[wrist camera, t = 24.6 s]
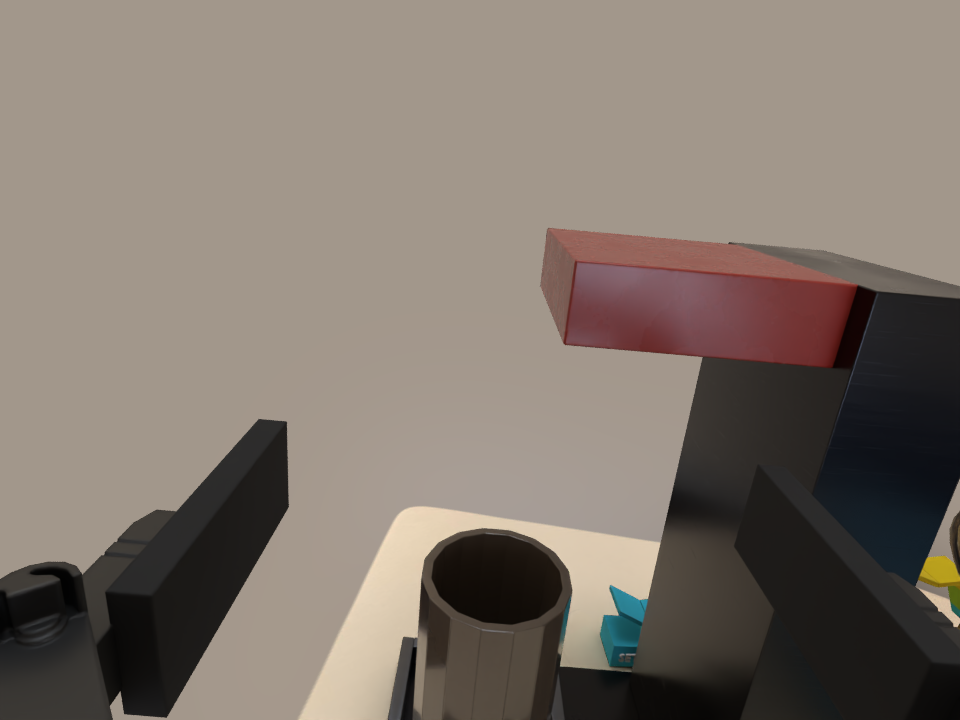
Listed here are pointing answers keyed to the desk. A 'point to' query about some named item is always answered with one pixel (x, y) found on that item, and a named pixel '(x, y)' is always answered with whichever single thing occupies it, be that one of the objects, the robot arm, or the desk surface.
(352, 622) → the desk surface
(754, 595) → the coffee maker
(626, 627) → the chart
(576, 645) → the desk surface
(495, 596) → the cup
